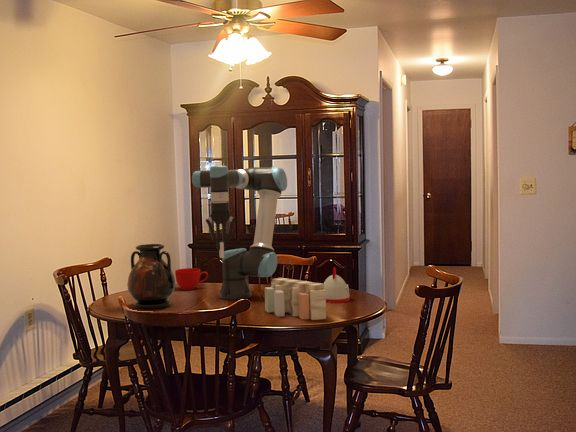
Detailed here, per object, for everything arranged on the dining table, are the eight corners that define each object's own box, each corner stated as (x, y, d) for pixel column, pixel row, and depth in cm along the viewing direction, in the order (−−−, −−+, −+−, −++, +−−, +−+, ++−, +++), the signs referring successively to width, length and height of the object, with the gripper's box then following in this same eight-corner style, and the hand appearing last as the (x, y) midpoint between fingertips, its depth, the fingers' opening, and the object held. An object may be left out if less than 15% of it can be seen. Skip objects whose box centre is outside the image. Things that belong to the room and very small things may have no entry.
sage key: (265, 310, 296) (264, 287, 296) (271, 309, 297) (271, 287, 296) (267, 312, 291) (267, 289, 291) (274, 312, 292) (274, 288, 292)
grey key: (274, 314, 288) (274, 290, 287) (281, 313, 289) (280, 290, 288) (277, 316, 283) (277, 292, 283) (284, 316, 284) (284, 292, 283)
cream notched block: (264, 311, 296) (263, 279, 295) (280, 307, 303) (279, 276, 302) (317, 321, 274) (316, 287, 273) (333, 317, 280) (332, 283, 279)
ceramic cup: (206, 290, 348) (206, 271, 347) (173, 291, 348) (173, 272, 347) (210, 286, 361) (209, 267, 360) (178, 287, 361) (177, 268, 360)
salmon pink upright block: (298, 317, 282) (298, 293, 281) (305, 316, 282) (305, 292, 282) (302, 319, 277) (301, 295, 276) (309, 318, 278) (308, 294, 277)
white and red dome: (350, 297, 322) (350, 265, 321) (348, 303, 309) (348, 270, 308) (321, 297, 325) (320, 265, 324) (318, 303, 311) (317, 270, 310)
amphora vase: (183, 301, 321) (180, 242, 319) (165, 311, 300) (163, 248, 298) (140, 301, 325) (137, 242, 323) (120, 310, 304) (117, 248, 302)
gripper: (205, 203, 284) (207, 259, 286) (236, 202, 287) (238, 257, 289) (203, 202, 291) (205, 257, 293) (233, 201, 295) (235, 255, 297)
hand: (221, 257), depth 291 cm, fingers closed
